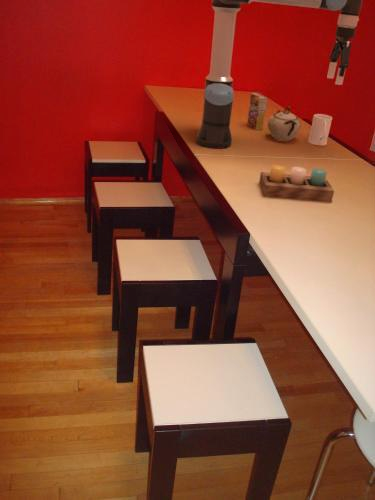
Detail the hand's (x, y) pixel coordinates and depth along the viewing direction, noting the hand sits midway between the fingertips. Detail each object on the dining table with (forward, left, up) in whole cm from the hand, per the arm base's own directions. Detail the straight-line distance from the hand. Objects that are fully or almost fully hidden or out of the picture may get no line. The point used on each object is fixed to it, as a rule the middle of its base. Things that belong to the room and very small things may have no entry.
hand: (334, 81), depth 210 cm
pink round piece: (-23, -60, -24) cm, 68 cm away
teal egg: (-16, -60, -24) cm, 66 cm away
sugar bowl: (-17, +4, -28) cm, 33 cm away
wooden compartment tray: (-23, -60, -28) cm, 70 cm away
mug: (-1, +1, -28) cm, 28 cm away
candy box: (-28, +19, -28) cm, 44 cm away
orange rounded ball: (-30, -60, -24) cm, 71 cm away
